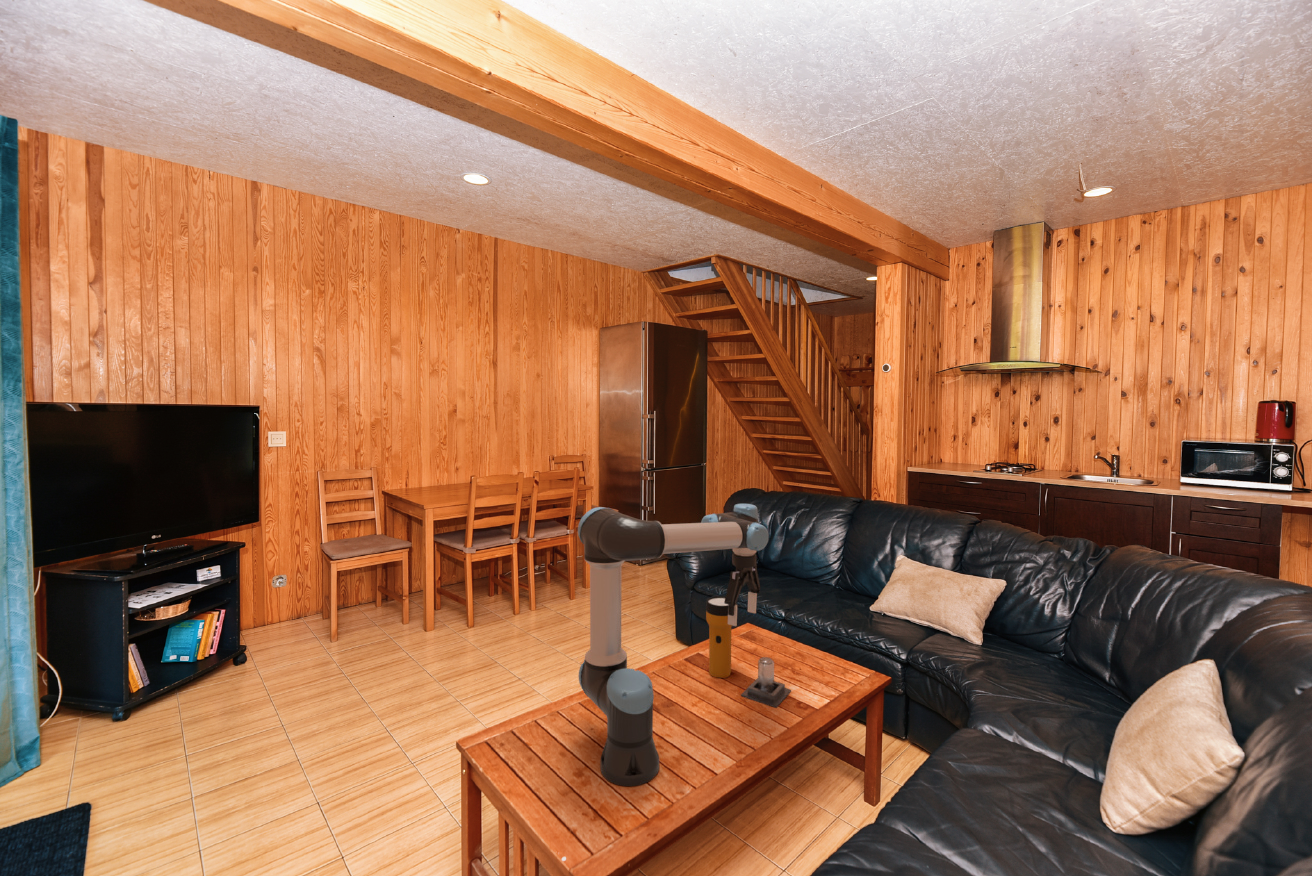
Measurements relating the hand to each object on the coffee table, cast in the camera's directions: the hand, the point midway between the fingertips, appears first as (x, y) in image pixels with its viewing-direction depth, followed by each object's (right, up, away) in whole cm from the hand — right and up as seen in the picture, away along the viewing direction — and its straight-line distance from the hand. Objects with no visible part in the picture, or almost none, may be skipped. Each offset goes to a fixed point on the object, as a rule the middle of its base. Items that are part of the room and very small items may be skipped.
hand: (742, 618), depth 180 cm
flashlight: (-5, -24, +15) cm, 29 cm away
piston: (+8, -24, +1) cm, 25 cm away
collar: (+8, -25, +1) cm, 26 cm away
